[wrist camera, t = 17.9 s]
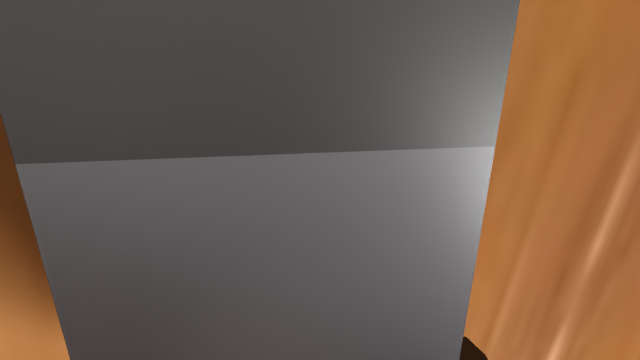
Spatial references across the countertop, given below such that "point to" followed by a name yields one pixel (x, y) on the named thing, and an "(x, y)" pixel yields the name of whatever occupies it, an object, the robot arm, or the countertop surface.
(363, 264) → the grey rectangular block
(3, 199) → the countertop surface
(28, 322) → the countertop surface
